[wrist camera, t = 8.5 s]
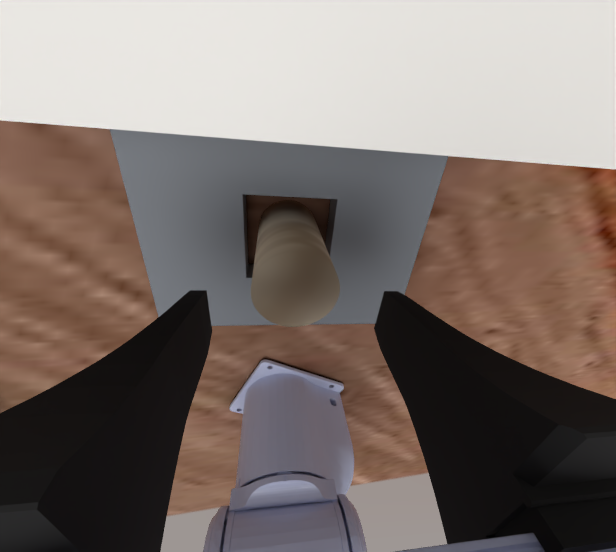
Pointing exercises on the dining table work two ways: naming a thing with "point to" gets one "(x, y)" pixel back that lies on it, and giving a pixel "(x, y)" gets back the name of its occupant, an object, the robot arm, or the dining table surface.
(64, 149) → the dining table surface
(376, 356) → the dining table surface
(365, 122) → the socket station
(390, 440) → the dining table surface
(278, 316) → the maple peg
